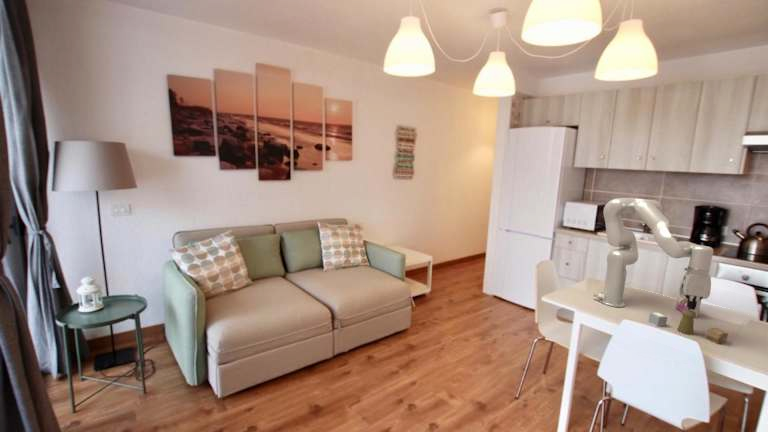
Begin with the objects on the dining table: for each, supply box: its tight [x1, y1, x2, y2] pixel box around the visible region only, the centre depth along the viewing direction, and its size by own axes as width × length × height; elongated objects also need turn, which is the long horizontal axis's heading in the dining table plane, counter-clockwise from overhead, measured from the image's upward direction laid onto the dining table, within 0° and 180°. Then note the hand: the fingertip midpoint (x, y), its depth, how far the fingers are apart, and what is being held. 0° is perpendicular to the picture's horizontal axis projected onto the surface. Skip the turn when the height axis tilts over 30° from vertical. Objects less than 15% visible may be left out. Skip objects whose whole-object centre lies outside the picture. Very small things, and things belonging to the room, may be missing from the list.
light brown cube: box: [705, 327, 729, 345], centre depth 164 cm, size 5×5×5 cm
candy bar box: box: [675, 280, 702, 319], centre depth 192 cm, size 11×5×16 cm, turn 168°
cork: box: [676, 310, 696, 336], centre depth 171 cm, size 6×6×11 cm
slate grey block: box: [647, 311, 668, 327], centre depth 179 cm, size 5×5×5 cm
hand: (690, 308), depth 170 cm, fingers closed
